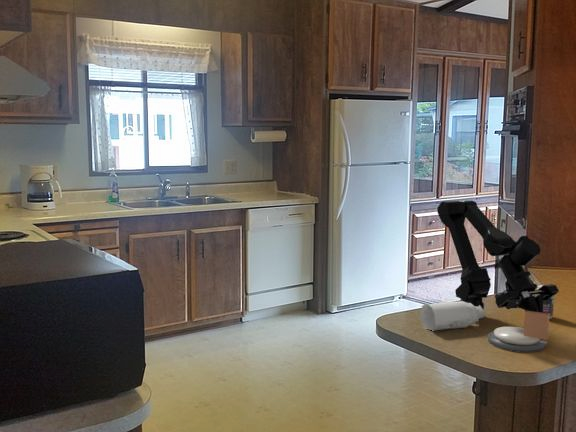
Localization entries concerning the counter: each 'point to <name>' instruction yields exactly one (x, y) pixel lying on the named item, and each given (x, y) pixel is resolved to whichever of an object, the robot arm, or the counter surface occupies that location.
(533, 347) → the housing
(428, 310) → the white bottle
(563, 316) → the counter surface
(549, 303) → the pill bottle
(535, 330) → the dial
